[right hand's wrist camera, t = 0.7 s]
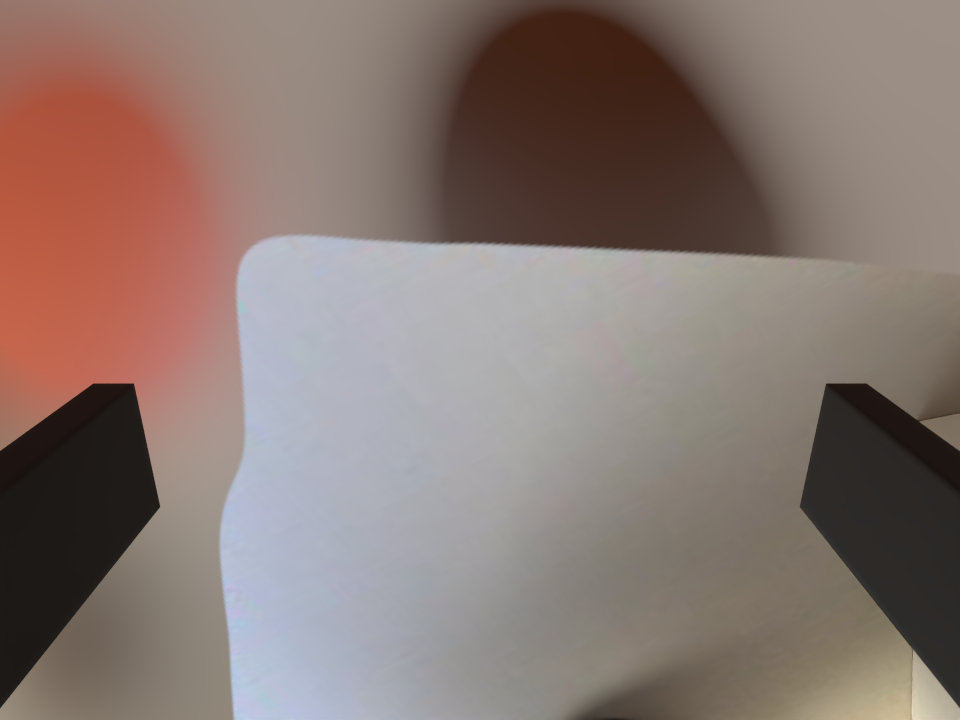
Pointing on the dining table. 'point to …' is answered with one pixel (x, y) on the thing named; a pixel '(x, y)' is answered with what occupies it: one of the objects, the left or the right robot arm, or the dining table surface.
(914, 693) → the bar
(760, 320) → the dining table surface
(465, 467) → the dining table surface
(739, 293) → the dining table surface
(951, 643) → the right robot arm
